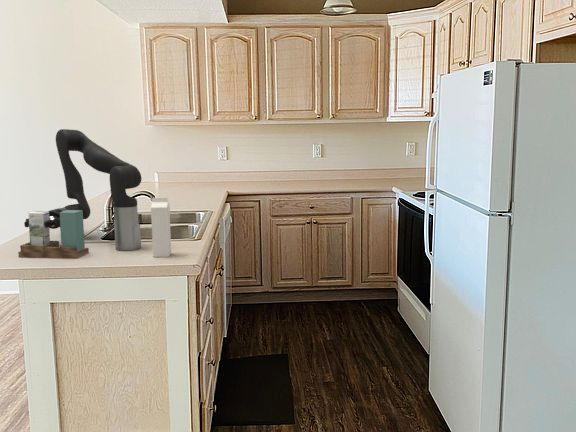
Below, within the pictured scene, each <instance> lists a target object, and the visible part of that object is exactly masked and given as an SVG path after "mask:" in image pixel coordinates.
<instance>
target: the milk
mask: <svg viewBox="0 0 576 432" xmlns="http://www.w3.org/2000/svg"><path fill="white" fill-rule="evenodd" d="M170 209H171V208H170V203H169V198H168V197H152V198H151V205H150V213H151V214H150V215H151V219H150V220H151V239H152V241H151V242H152V243H151V244H152V257H153V258H163V257H164V258H169V257H170V256H171V255H172V241H171V239H172V237H171V215H170V214H171V213H170V211H171V210H170Z"/></svg>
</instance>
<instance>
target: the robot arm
mask: <svg viewBox="0 0 576 432" xmlns="http://www.w3.org/2000/svg"><path fill="white" fill-rule="evenodd" d="M55 145H56V149H57V154H58V156H59V160H60V163H61V164H60V165H61V167H62V170H63V175H64V180H65V189H66V197H67V198H68V199H71V200H76V201H77V203H74V204H68V205H65V206H64V207H57V208H54V209H51V210H48V211H49V221H47V222H45V228H48V227H49V229H50V230H51V229H52V230H55V229H59V228H60V212H63V211H67V210H83V220H87V219H88V218H89V217H90V216H91V207H90V204H89V202H88V201H87V200H88V199H87V198H86V195H85V192H84V182H83V178H82V174H81V173H80V171H79V170H78V169H77V167H76V165H75V164H74V163H73V161H72V158H71V155H70V152H80V153H81V154H83V155H82V156H83V160H84V162H85V163H86V164H87V165H88V166H90V167H91V168H92V169H93V170H95V171H98V172H100V173H104V174H108V175H109V187H110V198H111V201H112V205H113V206H112V208H113V209H112V210H113V224H114V225H113V227H114V242H115V243H114V245H115V250H116V251H123V252H124V251H136V250H138V249H140V248H141V247H142V237H141V235H142V234H141V224H140V223H139V217H138V216H139V214H138V213H139V211H138V210H139V209H138V200H137V198H136V197H132V196H129V195H128V194H127V190H129V189H135V188H137V187H139V185H140V184H141V183H142V174H141V172H140V170H139V168H138V167H136V166H135V165H133V164H130V163H129V162H126V161H124V160H122V159H120V158H118V157H117V156H116V155H114V154H113V153H111V152H110V151H108V150H107V149H106V148H104V147H102V146H101V145H99V144H97V143H96V142H94V141H92V140H91V138H89V137H88V136H87V135H86V134H84V133H83V131H80V130H78V129H69V128H68V129H65V128H64V129H61V128H60V129H59V130H57V132H56V135H55ZM23 224H24V227H25V228H29V218H25V221H24V223H23Z"/></svg>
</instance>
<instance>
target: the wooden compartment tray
mask: <svg viewBox="0 0 576 432" xmlns="http://www.w3.org/2000/svg"><path fill="white" fill-rule="evenodd" d="M89 250H90V249H89V247H85V249H83V250H81V251H79V252H77V248H75V247H62V246H61V247H60V240H50V243H49V244H47V245H30V241H29V242H27V243H25V244H24V243H23V244H21V245H20V251H18V258H33V259H34V258H37V259H38V258H39V259H71V260H72V259H78V258H81V257H83V256H86V255H87V254H89V253H90V251H89Z"/></svg>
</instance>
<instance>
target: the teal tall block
mask: <svg viewBox="0 0 576 432" xmlns="http://www.w3.org/2000/svg"><path fill="white" fill-rule="evenodd" d="M59 228H60V231H59V232H60V242H61V247H75V248H77V252H79V251H81V250H83V249H85V248H86V246H85V245H86V243H85V229H84V228H85V226H84V219H83V210H67V211H63V212H60V227H59Z"/></svg>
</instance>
